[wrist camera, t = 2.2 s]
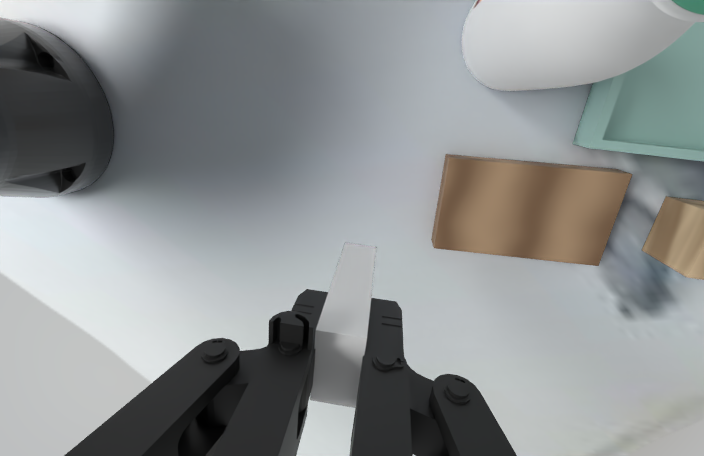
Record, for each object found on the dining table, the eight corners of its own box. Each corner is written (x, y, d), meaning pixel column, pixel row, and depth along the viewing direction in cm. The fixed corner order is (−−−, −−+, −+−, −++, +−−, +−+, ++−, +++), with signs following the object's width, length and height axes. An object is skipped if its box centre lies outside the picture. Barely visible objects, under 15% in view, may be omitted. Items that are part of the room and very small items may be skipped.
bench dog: (641, 250, 30) (686, 277, 26) (666, 196, 29) (719, 215, 24) (676, 254, 30) (728, 283, 26) (703, 201, 28) (764, 220, 24)
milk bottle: (553, 93, 27) (917, 79, 8) (453, 90, 28) (581, 73, 9) (579, -25, 24) (1210, -439, 6) (467, -24, 25) (694, -390, 6)
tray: (572, 144, 28) (588, 148, 26) (633, -39, 24) (659, -54, 21) (732, 162, 27) (764, 168, 25) (826, -23, 23) (876, -37, 20)
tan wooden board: (430, 237, 33) (433, 248, 30) (445, 153, 30) (449, 157, 28) (583, 253, 32) (598, 265, 29) (613, 168, 29) (632, 174, 26)
